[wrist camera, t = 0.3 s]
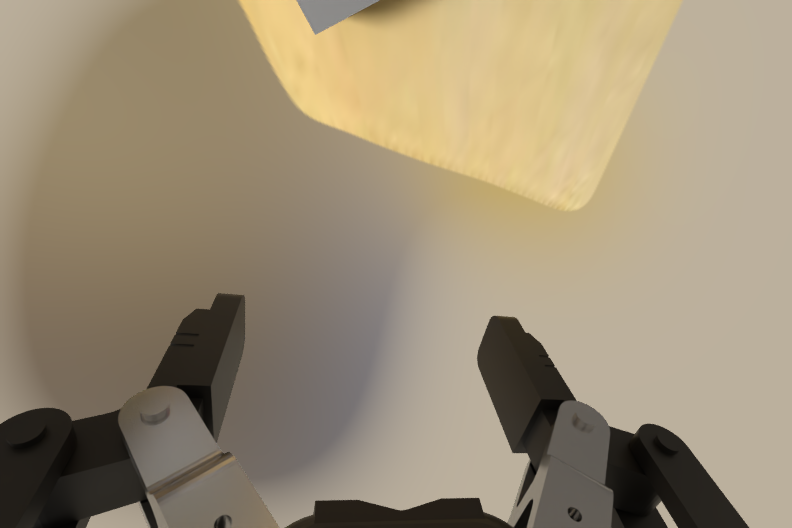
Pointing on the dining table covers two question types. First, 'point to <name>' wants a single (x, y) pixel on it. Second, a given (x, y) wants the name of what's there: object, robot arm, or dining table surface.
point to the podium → (330, 11)
